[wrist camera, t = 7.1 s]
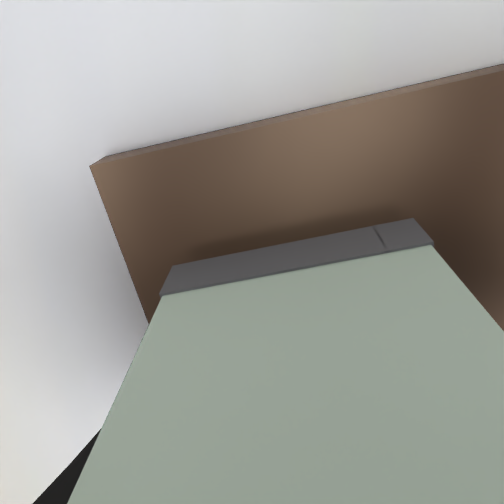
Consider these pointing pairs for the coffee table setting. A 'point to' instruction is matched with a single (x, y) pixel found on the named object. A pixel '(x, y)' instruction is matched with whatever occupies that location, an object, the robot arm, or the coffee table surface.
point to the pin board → (323, 183)
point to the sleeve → (310, 382)
